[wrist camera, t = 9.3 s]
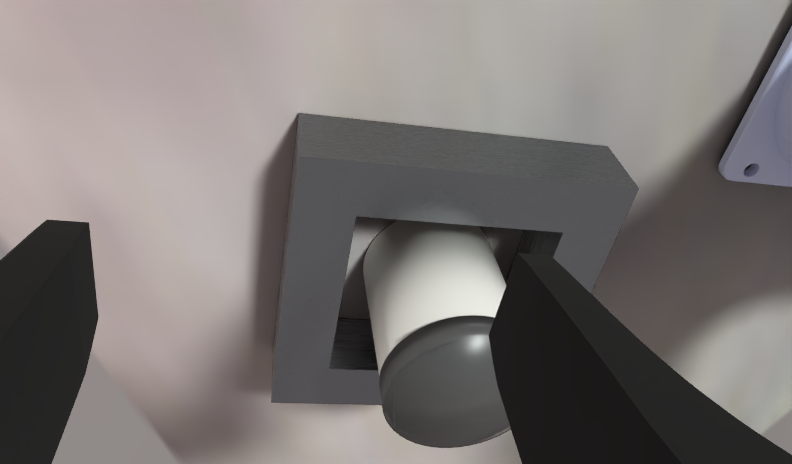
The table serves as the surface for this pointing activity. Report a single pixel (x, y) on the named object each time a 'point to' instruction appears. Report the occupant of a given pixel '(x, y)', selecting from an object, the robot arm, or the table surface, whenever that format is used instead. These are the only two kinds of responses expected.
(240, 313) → the table surface
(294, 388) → the grey square frame
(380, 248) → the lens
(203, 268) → the table surface
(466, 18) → the table surface
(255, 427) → the table surface
